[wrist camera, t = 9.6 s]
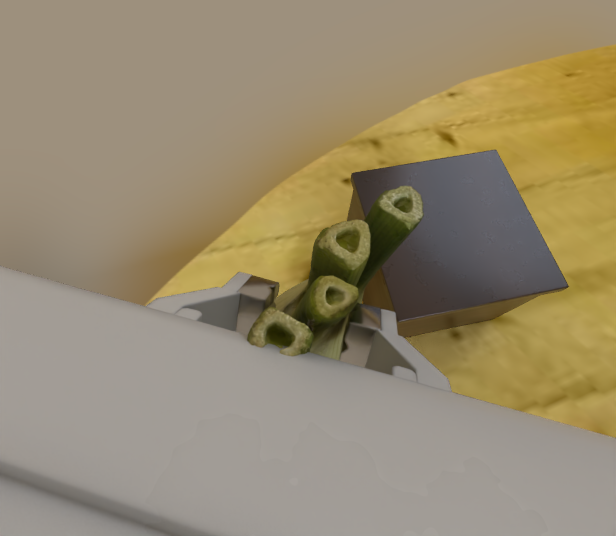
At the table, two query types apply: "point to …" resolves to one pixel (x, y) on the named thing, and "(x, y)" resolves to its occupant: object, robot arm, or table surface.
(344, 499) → the robot arm
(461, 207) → the stand
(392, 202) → the fennel bulb
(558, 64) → the table surface
